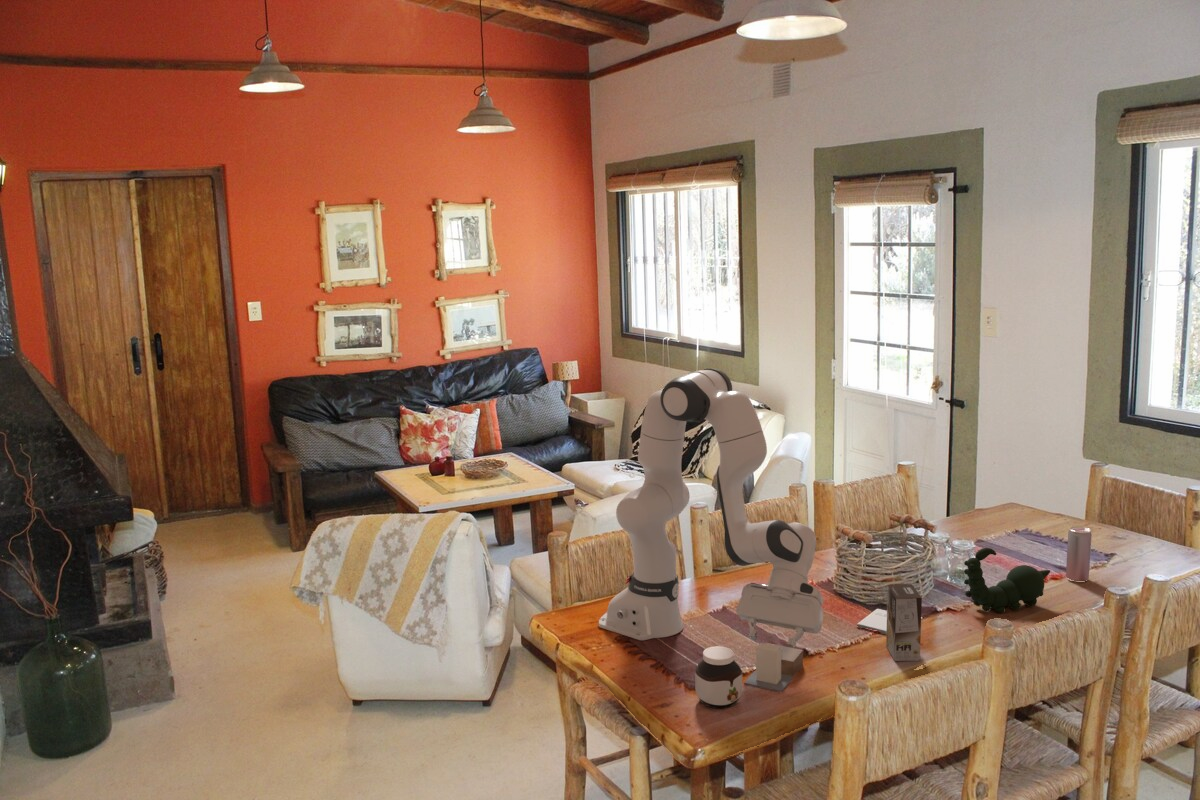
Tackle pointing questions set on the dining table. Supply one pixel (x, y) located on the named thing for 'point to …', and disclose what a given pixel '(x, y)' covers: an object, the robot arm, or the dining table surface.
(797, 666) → the deck
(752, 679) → the mat
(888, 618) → the coffee box
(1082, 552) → the beverage can
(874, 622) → the external hard drive
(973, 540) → the dining table surface
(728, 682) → the spread jar
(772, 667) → the block
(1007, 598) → the toy figurine
